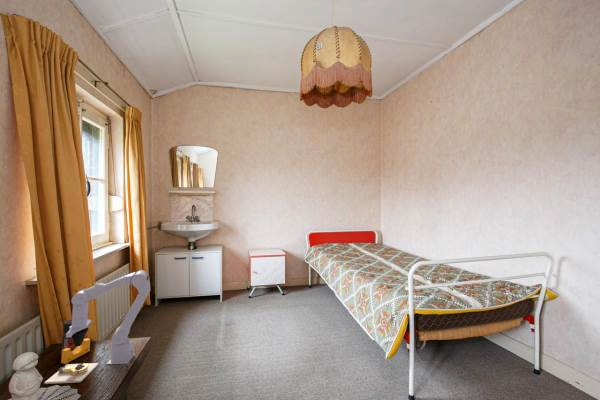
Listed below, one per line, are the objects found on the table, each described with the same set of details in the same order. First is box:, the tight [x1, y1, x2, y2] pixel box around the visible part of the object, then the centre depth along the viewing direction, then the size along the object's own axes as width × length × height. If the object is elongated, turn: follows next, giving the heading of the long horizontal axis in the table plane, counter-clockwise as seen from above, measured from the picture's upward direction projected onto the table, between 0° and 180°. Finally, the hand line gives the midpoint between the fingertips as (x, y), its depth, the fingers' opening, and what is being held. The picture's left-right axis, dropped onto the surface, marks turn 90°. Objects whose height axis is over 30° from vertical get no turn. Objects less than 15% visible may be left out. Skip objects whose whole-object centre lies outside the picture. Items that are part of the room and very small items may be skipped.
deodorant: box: [61, 319, 76, 351], centre depth 140 cm, size 6×6×15 cm
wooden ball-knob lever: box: [58, 363, 88, 375], centre depth 121 cm, size 11×6×2 cm, turn 98°
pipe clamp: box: [60, 337, 91, 365], centre depth 135 cm, size 12×4×6 cm, turn 169°
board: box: [44, 362, 100, 385], centre depth 121 cm, size 14×13×4 cm
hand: (78, 345), depth 127 cm, fingers closed
